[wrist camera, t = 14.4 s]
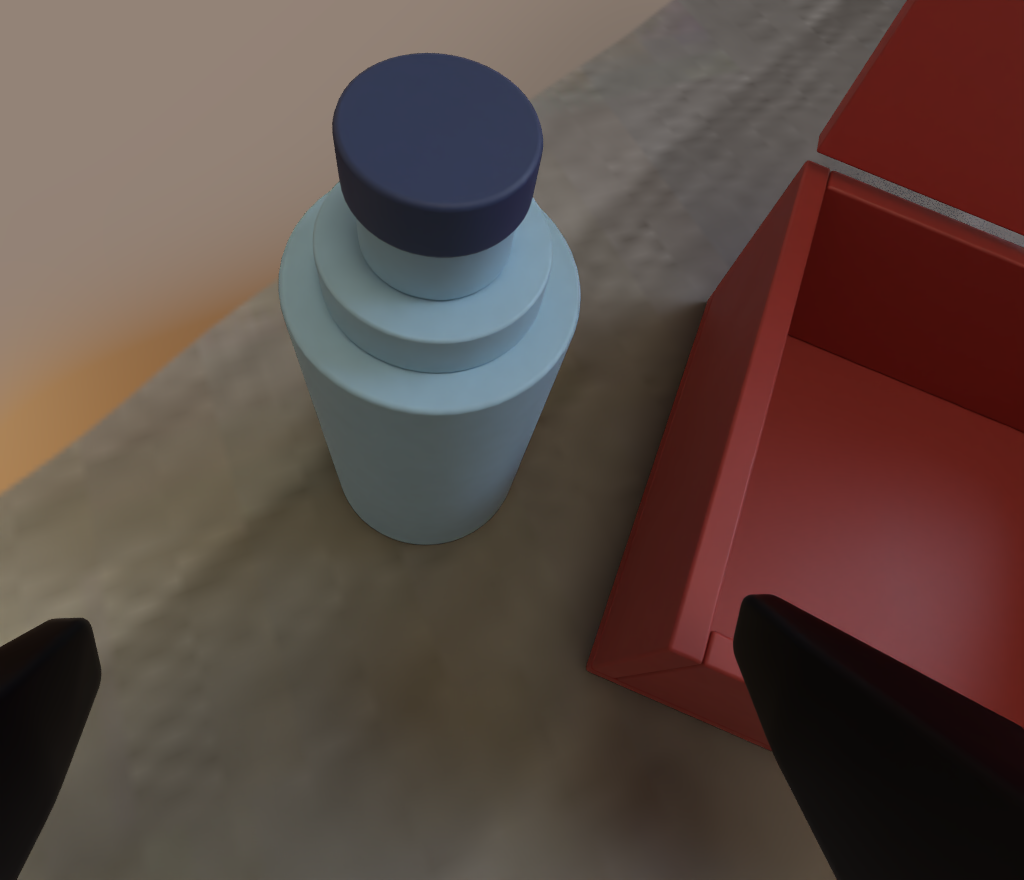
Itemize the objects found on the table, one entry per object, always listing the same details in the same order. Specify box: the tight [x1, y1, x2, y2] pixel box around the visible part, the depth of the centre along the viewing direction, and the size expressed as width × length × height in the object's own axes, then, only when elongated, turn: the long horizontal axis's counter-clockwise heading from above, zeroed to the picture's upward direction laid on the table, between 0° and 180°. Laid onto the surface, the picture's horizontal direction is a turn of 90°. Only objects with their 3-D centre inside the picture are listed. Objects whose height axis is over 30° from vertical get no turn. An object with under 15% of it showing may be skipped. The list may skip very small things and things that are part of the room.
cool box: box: [586, 161, 1024, 751], centre depth 17 cm, size 13×15×6 cm
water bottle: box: [279, 53, 581, 545], centre depth 14 cm, size 5×5×12 cm
